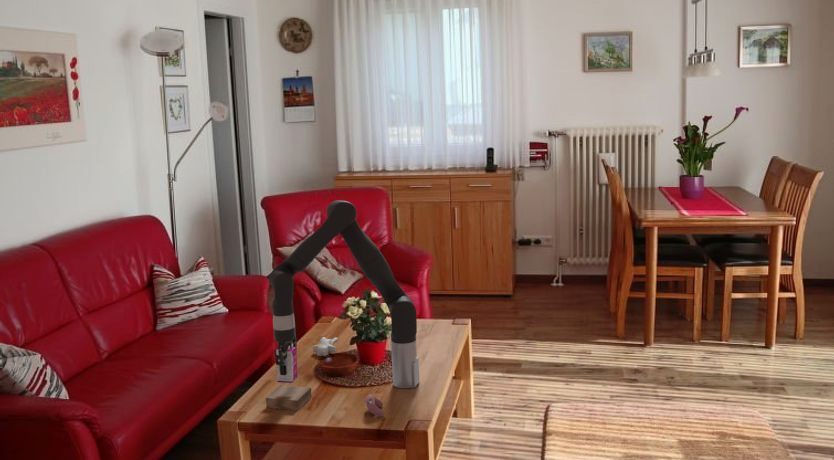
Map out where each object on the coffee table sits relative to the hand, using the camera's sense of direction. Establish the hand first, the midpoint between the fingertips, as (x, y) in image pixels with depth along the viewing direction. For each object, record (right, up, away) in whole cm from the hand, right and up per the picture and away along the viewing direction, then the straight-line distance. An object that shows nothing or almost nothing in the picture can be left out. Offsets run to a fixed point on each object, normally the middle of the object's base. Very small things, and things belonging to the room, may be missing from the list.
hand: (287, 371), depth 298 cm
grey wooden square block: (0, -12, +2) cm, 12 cm away
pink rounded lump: (+31, -13, -9) cm, 35 cm away
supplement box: (0, -3, +1) cm, 3 cm away
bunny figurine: (+8, -1, +54) cm, 54 cm away
